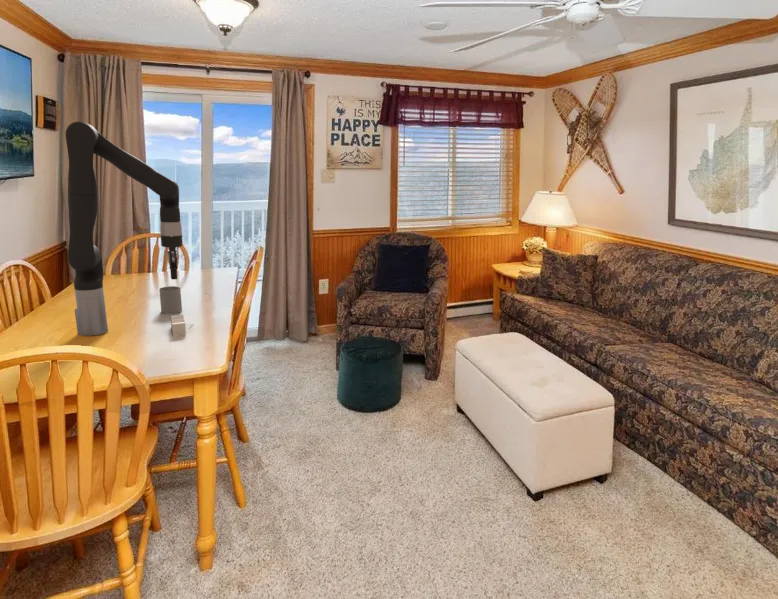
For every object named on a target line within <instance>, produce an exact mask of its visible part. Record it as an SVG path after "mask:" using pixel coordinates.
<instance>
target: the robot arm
mask: <svg viewBox="0 0 778 599" xmlns="http://www.w3.org/2000/svg"><path fill="white" fill-rule="evenodd" d="M65 143H66V149H67V156H68V172H67V177H68V178H67V205H68V206H67V207H68V208H67V209H68V224H69V240H68V248H67V251H68V252H67V261H68V264H69V265H70V267H71V268H72V269H74V271H75V273H74V274H75V277H74V280H73V287H74V294H75V302H76V304H75V305H76V308H74V316H75V324H76V330H77V331H76V332H77V335H81V336H83V335H84V337H92V336H91V335H95V336H100V335H99V334H101V335H104V334H106V333H108V332H107V331H109V327H108V317H107V309H106V300H105V293H104V284H103V283H104V282H103V281H104V266H103V256H102V253H101V250H100V248H98V247H97V246H96V245H95V243H94V230H95V229H94V228H95V225H96V221H97V216H98V213H99V212H98V211H99V190H98V183H97V179H96V175H95V169H94V155H96V156H99V157H100V158H102V159H104V160H105V161H107V162H108V163H110V164H111V165H113V166H114V167H115V168H116V169H118V170H119V171H121V172H122V173H124V175H127V176H129V177H130V178H131V179H133V180H135V181H136V182H138V183H140V184H142V185H143V186H146V187H147V188H148V189H149V190H151V191H152V192H154V193H155V194H156V195H158V196H159V203H160V208H159V221H160V224H159V225H160V226H159V231H160V232H159V233H160V234H159V235H160V245H161V247H162V248H168V250H166V256H167V262H168V264H169V265H168V266H169V271H170V280H178V264H179V251H178V250H177V248H179V247H180V248H181V247H183V244H184V241H183V229H182V223H181V221H182V220H181V211H180V189H179V187H180V186H179V185H178V183H177V182H176V181H175V180H173V179H171V178H168V177H166V176H165V175H163V174H162V173H160V172H158V171H157V170H156V169H154V168H153V167H152V166H150V165H149V164H147V163H146V162H144V161H142V160H141V159H140V158H138V157H136V156H134V155H133V154H131V153H128V152H127V151H125V150H124V149H122V148H120V147H119V146H117V145H116V144H114V143H113V142H111V141H110V140H109V139H107V137H105V136H104V135H103V134H102V133H100V132H99V131H98V130H97V129H96V128H95V127H94V126H93V125H91V124H90V123H88V122H83V121H73V122H71V123H70V124H69V125H68V126H67V128H66V129H65ZM103 333H104V334H103Z"/></svg>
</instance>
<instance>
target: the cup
mask: <svg viewBox="0 0 778 599" xmlns="http://www.w3.org/2000/svg"><path fill="white" fill-rule="evenodd" d="M181 292H182V291H181V287H180V286H173V285H171V286H163V287H160V288H159V299H160V300H159V301H160V302H159V303H160V312H163V313H162V314H164V313H173V314H178V313H177V312H179V313H181V312H182V311H183V306H182V305H183V304H182V295H181V294H182V293H181ZM180 311H181V312H180Z"/></svg>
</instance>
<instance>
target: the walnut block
mask: <svg viewBox="0 0 778 599" xmlns="http://www.w3.org/2000/svg"><path fill="white" fill-rule="evenodd" d="M170 322H171V324H170V325H171V329H172V330H171V331H172V336H173V337H175V335H177V336H184V335H183V334H186V335H187V331H186V322H185V316H184V314H178V315H177V314H176V315H175V314H174V315H170Z"/></svg>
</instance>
